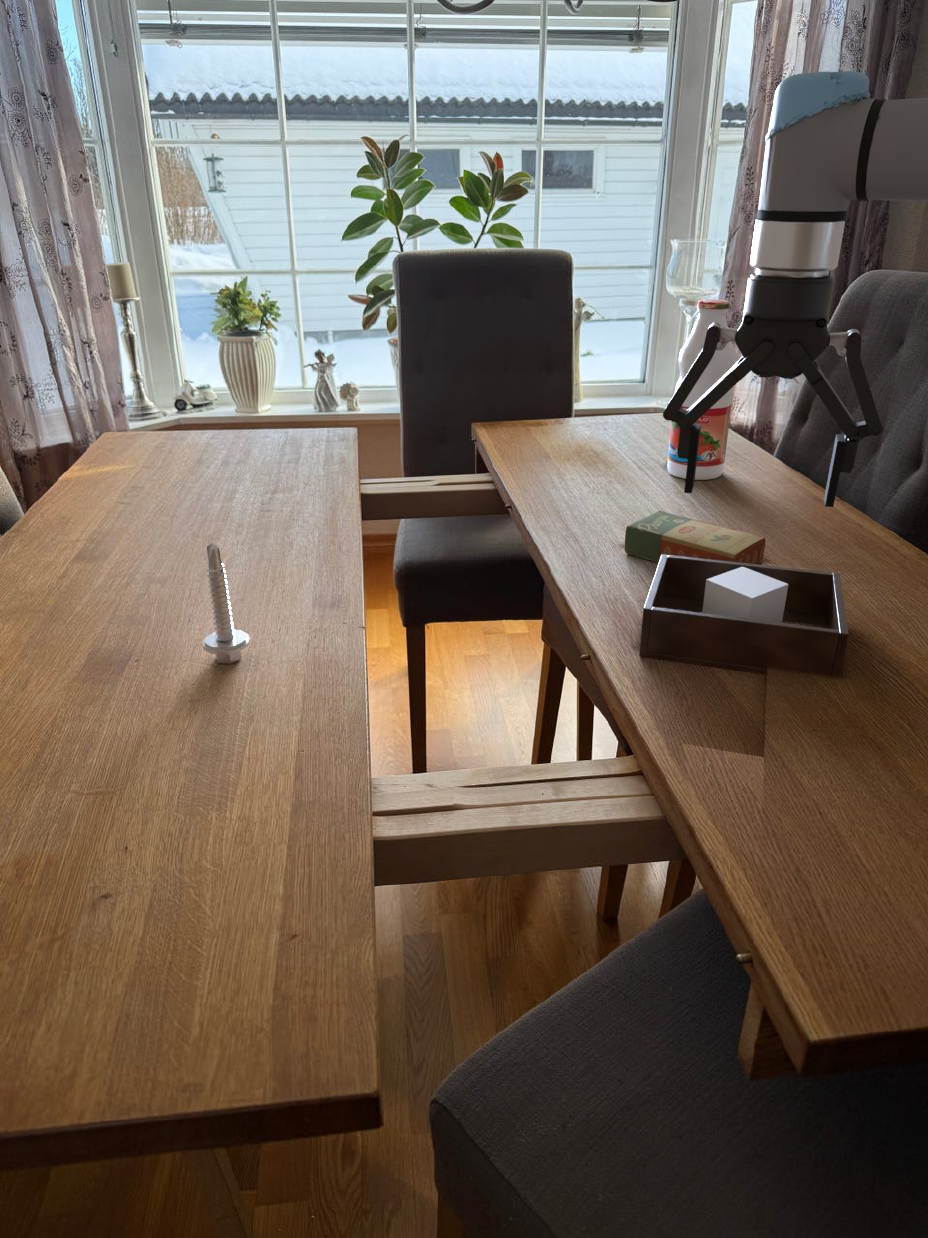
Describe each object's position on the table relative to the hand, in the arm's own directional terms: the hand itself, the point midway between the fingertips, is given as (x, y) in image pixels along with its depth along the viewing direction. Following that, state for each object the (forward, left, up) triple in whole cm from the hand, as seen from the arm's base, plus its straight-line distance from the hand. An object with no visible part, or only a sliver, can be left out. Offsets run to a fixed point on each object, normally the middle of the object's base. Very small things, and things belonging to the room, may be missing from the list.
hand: (757, 496), depth 90 cm
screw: (+51, +21, -16) cm, 57 cm away
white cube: (0, 0, -16) cm, 16 cm away
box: (0, 0, -16) cm, 16 cm away
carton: (+7, -21, -16) cm, 27 cm away
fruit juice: (+10, -61, -16) cm, 64 cm away
